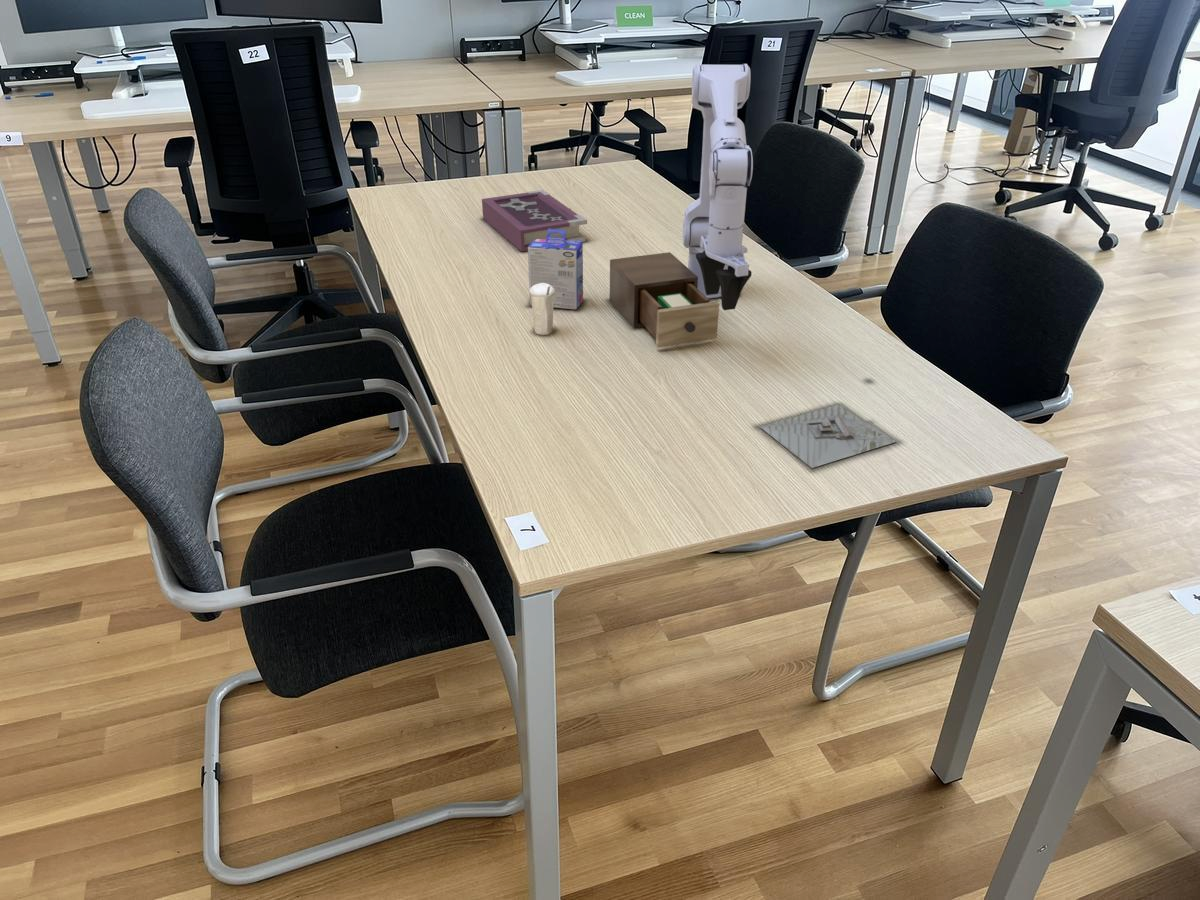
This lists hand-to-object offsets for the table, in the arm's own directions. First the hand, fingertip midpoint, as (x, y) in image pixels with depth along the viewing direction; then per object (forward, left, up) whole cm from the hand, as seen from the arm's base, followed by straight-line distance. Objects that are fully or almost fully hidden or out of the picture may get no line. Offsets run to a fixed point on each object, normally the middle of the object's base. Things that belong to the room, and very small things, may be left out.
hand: (720, 301), depth 158 cm
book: (+14, -73, -10) cm, 75 cm away
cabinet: (+4, -21, -10) cm, 24 cm away
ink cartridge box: (+20, -30, -10) cm, 38 cm away
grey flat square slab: (-8, +28, -10) cm, 31 cm away
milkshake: (+26, -18, -10) cm, 34 cm away
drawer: (+4, -9, -9) cm, 13 cm away
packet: (+4, -10, -8) cm, 13 cm away
